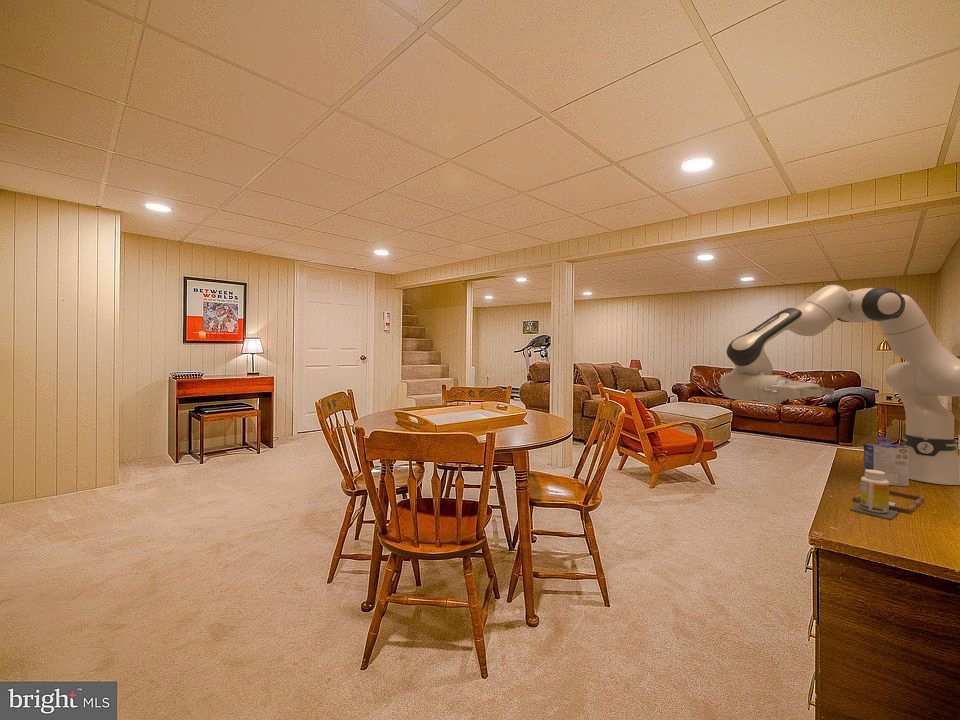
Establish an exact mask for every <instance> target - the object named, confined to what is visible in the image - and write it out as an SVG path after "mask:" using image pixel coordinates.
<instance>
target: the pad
mask: <svg viewBox="0 0 960 720" xmlns="http://www.w3.org/2000/svg"><path fill="white" fill-rule="evenodd" d="M849 510H850V511H851V512H854V513H855V512H856V513H859V514H863V515H868V516H871V515H872V517H875V516H877V517H876V518H880V517H881V519H884V518H885V520H888V519H889V521H892V520H893V519H894V518H895V517H896V516H898V515H899V514H900V512H898V511H894V510H889V511H888V512H887V513H876V512H871V511H867V510H865V509H863V508H861V506H860V503H858V502H857V504H856V505H853V506H852V507H850V509H849Z"/></svg>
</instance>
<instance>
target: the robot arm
mask: <svg viewBox="0 0 960 720" xmlns="http://www.w3.org/2000/svg"><path fill="white" fill-rule="evenodd" d="M836 321H839V322H842V323H867V322H876V323H878V324H879V327H880V330H881V332H882V334H883V335H884V338H885V340H886V341H887V342H886V343H888V346H889V347H890V349H891V351H892V352H893V354H894V355H896V356H897V357H899V358H901V359H904V360H905V361H903V362H902V361H901V362H898V363H894V364H892V365H891V366H890V367H888V369H887V370H886V373H885V380H886V382H887V385H888V386H889V387H890V388H892V389H893V390H894V391H895V392H896V393H897V395H898V396H899V398H900V400H901V403H902V405H903V407H904V413H905V433H904V434H903V439H902V440H903V444H904V445H903V446H904V447H907V448H909V480H913V481H918V482H921V483H922V482H924V483H928V484H934V485H935V484H937V485H948V486H960V455H958V454H957V452H956V449H957V442H956V439H955V416H954V413H953V412H952V411H950V410H949V409H947V407H945V406H944V405H943V404H942V402H941V401H940V398H939V396H941V397H960V358H959V357H957V356H956V355H954V354H953V353H952V352H951V351H950V350H948V349H947V348H946V347H945V346H944V345H943V344H942V343H941V341H940V340H939V339H938V337H937V336H936V334H935V332H934V330H933V329H932V327H931V325H930V323H929V321H928V319H927V317H926V315H925V314H924V312H923V310H922V309H921V307H920V306H919V305H918V304H917V302H916V301H915V300H914V299H913V298H912V297H911V296H909V295H907V294H904V293H902V294H901V293H900V292H899V291H898V290H896V289H893V288H891V287H883V286H881V287H880V286H879V287H867V288H865V287H864V288H863V287H862V288H859V289H854V290H850V291H849V290H847V288H845V287H843V286H841V285H838V284H830V285H829V284H828V285H826V286H823V287H822V288H819V290H817V291H815V292H814V293H813V294H811V295H809V296H808V297H807V298H805V299H804V300H803V301H802V302H801V303H799V304H797V305H796V306H795V307H788V308H785V309H781V311H778V312H777V313H775V314H773V315H772V316H770V317H769V318H767V319H766V320H765V321H762V323H760V324H759V325H757V326H756V327H754V328H752V329H751V330H749V331H748V332H746V333H744V334H742V335H739V336H738V337H736V338H734V339H732V341H730V343H729V344H728V346H727V348H726V356H727V357H728V359H729V360H730V361H731V362H732V363H733V365H734V366H735V367H734V368H733V369H732V370H731V371H730V372H728V373H727V374H724V375H721V376H720V379H719V387H720V389H719V390H720V391H721V393H722V394H723V396H725V398H728V399H730V400H731V399H732V400H738V401H746V402H748V401H749V402H750V401H756V402H760V403H769V404H777V405H778V404H782V402H784V401H787V400H788V399H789V400H799V399H805V398H811V397H815V398H817V397H819V398H820V397H824V395H827V396H833V395H834V394H835V389H834V388H826V387H821V386H820V384H818V383H813V382H807V381H805V382H804V381H799V380H792V379H791V378H788V377H787V378H786V377H783V376H782V375H773V372H774V368H773V365H772V363H771V360H770V359H769V357H768V356H767V354H766V352H765V346H766V344H767V343H768V342H770V341H771V340H773V339H775V337H778V336H779V335H780V334H782V333H783V332H785V331H787V330H788V331H790V332H792V333H793V334H796V335H799V336H803V337H814V336H816V335H819V334H821V333H822V332H824V331H825V330H827V329H828V328H829V327H830V326H831V325H832V324H834V322H836Z"/></svg>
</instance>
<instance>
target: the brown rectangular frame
mask: <svg viewBox="0 0 960 720" xmlns="http://www.w3.org/2000/svg"><path fill="white" fill-rule="evenodd" d="M889 496H896V497H900V496H901V498H905V499H906V498H907V499H911V500H914V502H913V503H911V504H910V505H909V506H908V507H907V508H905V507H901V506H900V507H899V506H897V505H895V506H892V505H889V509H890V510H893V511H899V513H904V514H908V515H912V513H913V512H915V510H916V509H917V508H918V507H919V506H920V505H922V504H923V503H924V502H925V496H919V495H915V494H910V493H906V492H905V493H904V492H900V491H894V490H890V489H889ZM853 502H855V503H857V504H858V503H860V493H858V494H856V495H855V496H853V497H852V503H853Z"/></svg>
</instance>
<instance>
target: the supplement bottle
mask: <svg viewBox="0 0 960 720" xmlns="http://www.w3.org/2000/svg"><path fill="white" fill-rule="evenodd" d="M889 490H890V485H889V481H887V480H886V479H885V472H882V471H878V470H870V469H868V470H865V476H864V475H863V476H862V477H860V492H859V494H860V506H861V508H863V509H865V510H867V511H871V512H876V513H887V512H888V511H889V502H890V494H889Z"/></svg>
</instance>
